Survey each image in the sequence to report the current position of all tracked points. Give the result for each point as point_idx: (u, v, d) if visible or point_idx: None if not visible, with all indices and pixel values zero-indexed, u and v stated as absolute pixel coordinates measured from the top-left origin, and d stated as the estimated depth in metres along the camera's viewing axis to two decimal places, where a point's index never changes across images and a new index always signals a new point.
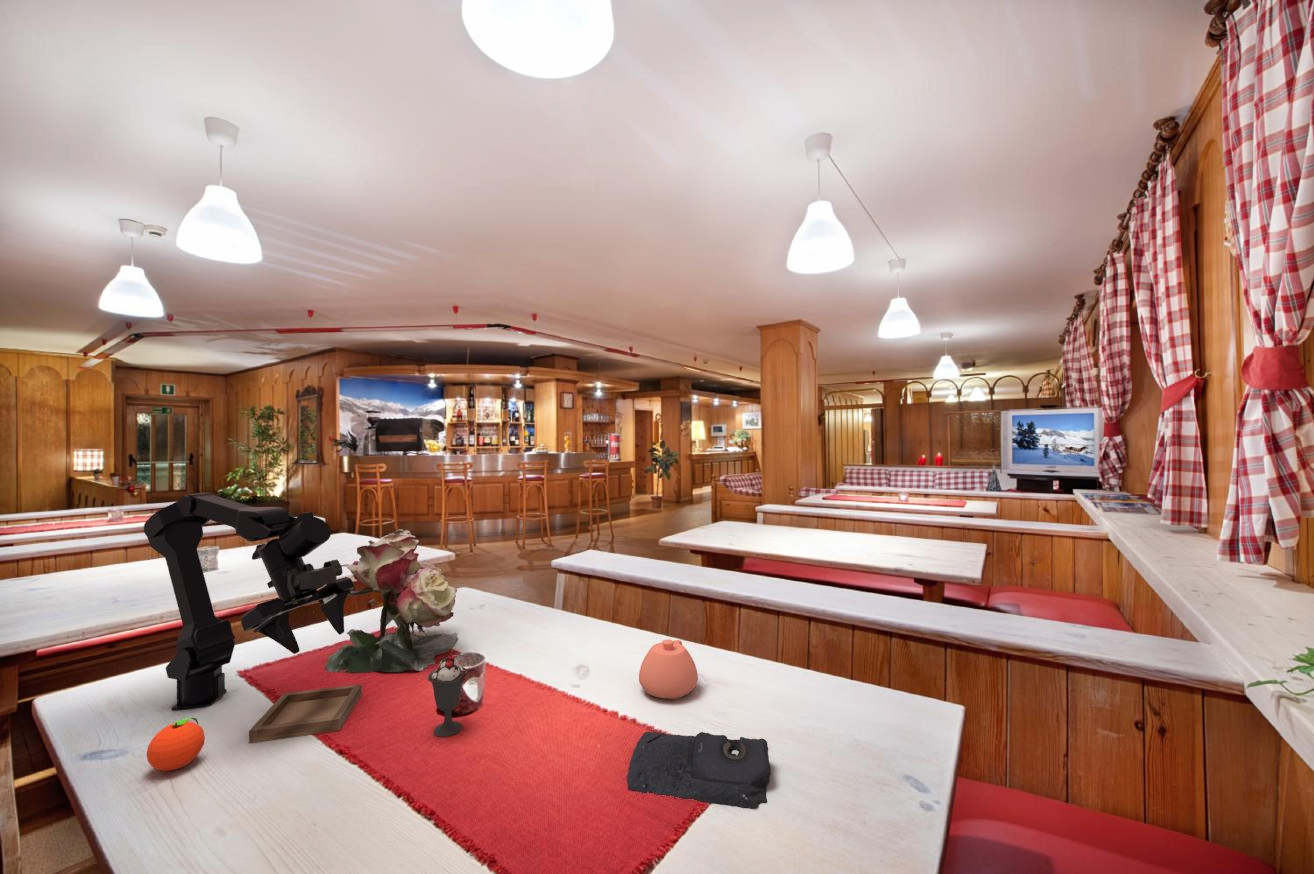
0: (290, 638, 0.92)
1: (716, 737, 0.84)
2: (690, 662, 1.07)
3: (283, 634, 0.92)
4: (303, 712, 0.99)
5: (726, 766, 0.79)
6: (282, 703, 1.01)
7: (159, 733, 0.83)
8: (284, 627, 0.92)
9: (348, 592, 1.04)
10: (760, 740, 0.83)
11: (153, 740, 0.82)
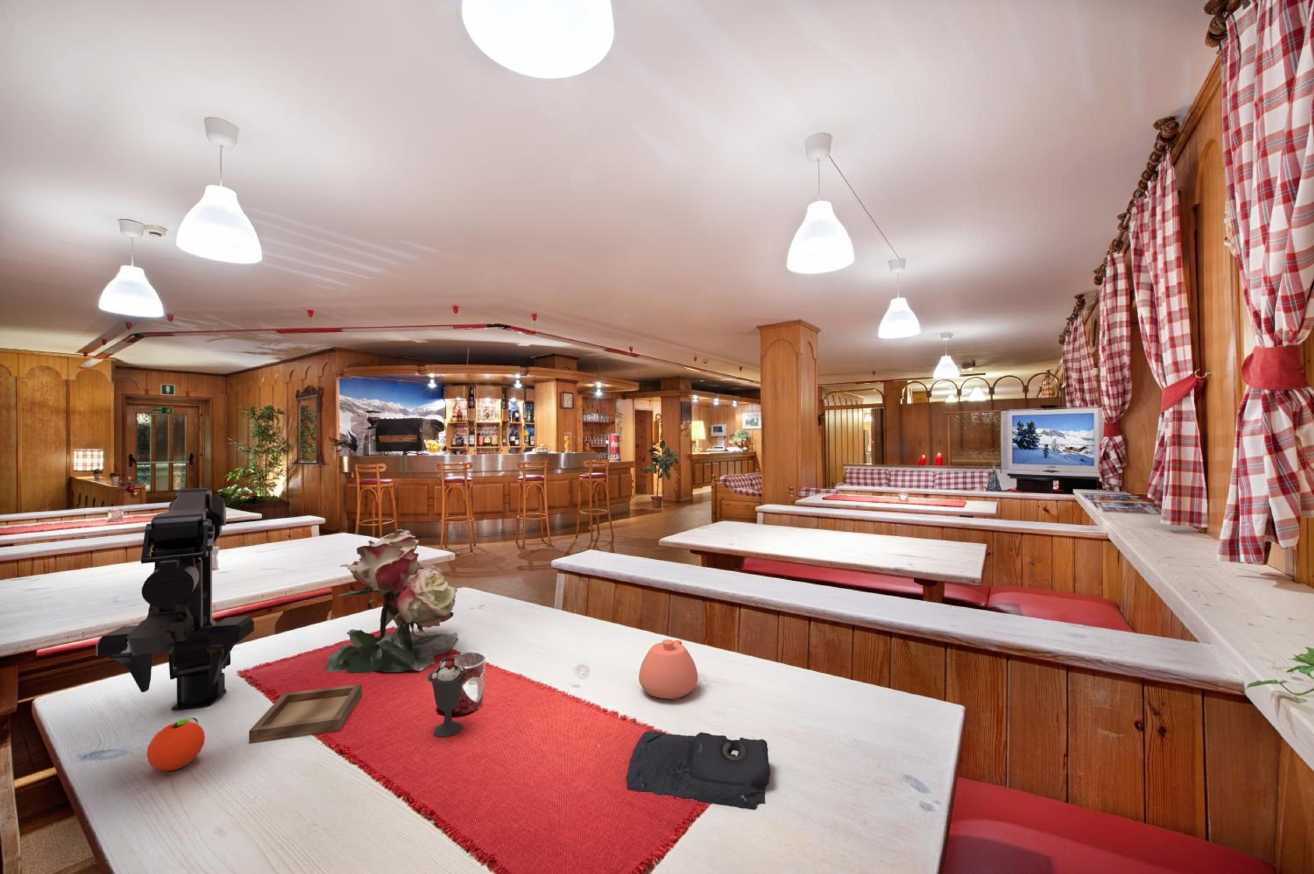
0: (134, 678, 0.82)
1: (716, 737, 0.84)
2: (690, 662, 1.07)
3: None
4: (303, 712, 0.99)
5: (726, 766, 0.79)
6: (282, 703, 1.01)
7: (159, 733, 0.83)
8: (129, 665, 0.82)
9: (222, 648, 0.84)
10: (760, 741, 0.83)
11: (153, 740, 0.82)
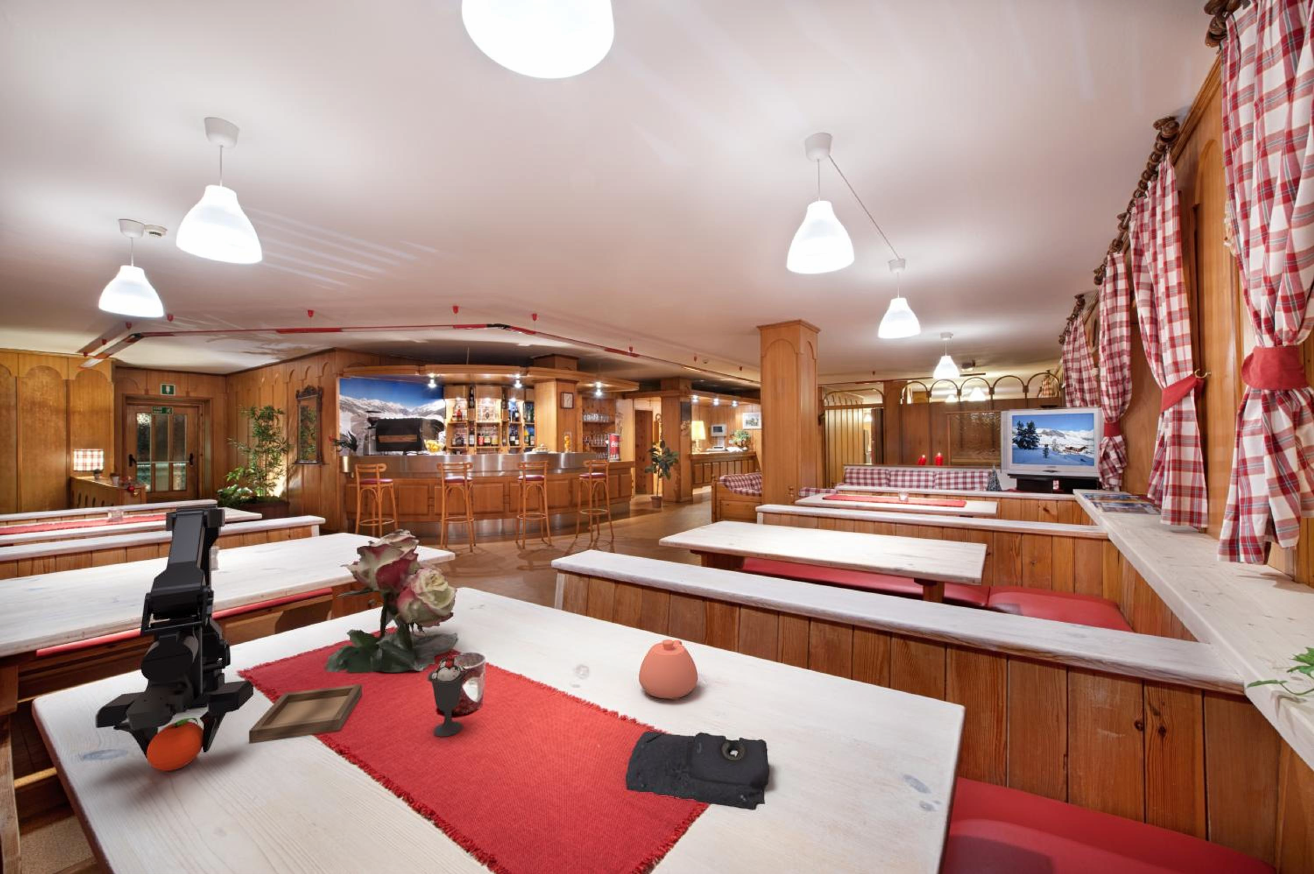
0: (141, 746, 0.83)
1: (715, 737, 0.84)
2: (690, 662, 1.07)
3: None
4: (303, 712, 0.99)
5: (725, 766, 0.79)
6: (282, 703, 1.01)
7: (159, 733, 0.83)
8: (135, 735, 0.82)
9: (214, 717, 0.84)
10: (759, 741, 0.83)
11: (153, 740, 0.82)
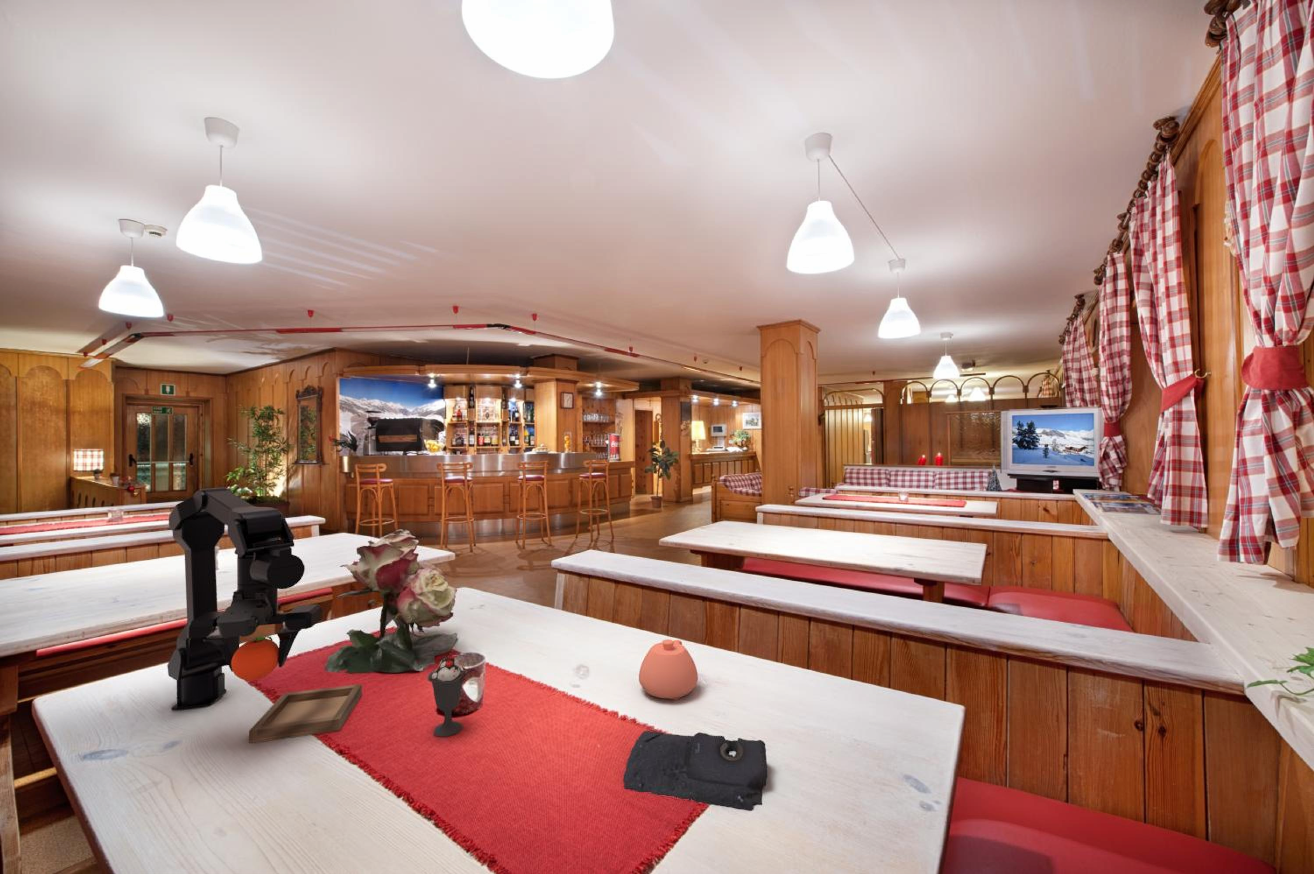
0: (226, 658, 0.91)
1: (714, 738, 0.84)
2: (690, 662, 1.07)
3: None
4: (303, 712, 0.99)
5: (723, 767, 0.79)
6: (282, 703, 1.01)
7: (241, 646, 0.91)
8: (221, 647, 0.90)
9: (290, 633, 0.92)
10: (758, 742, 0.83)
11: (237, 652, 0.90)
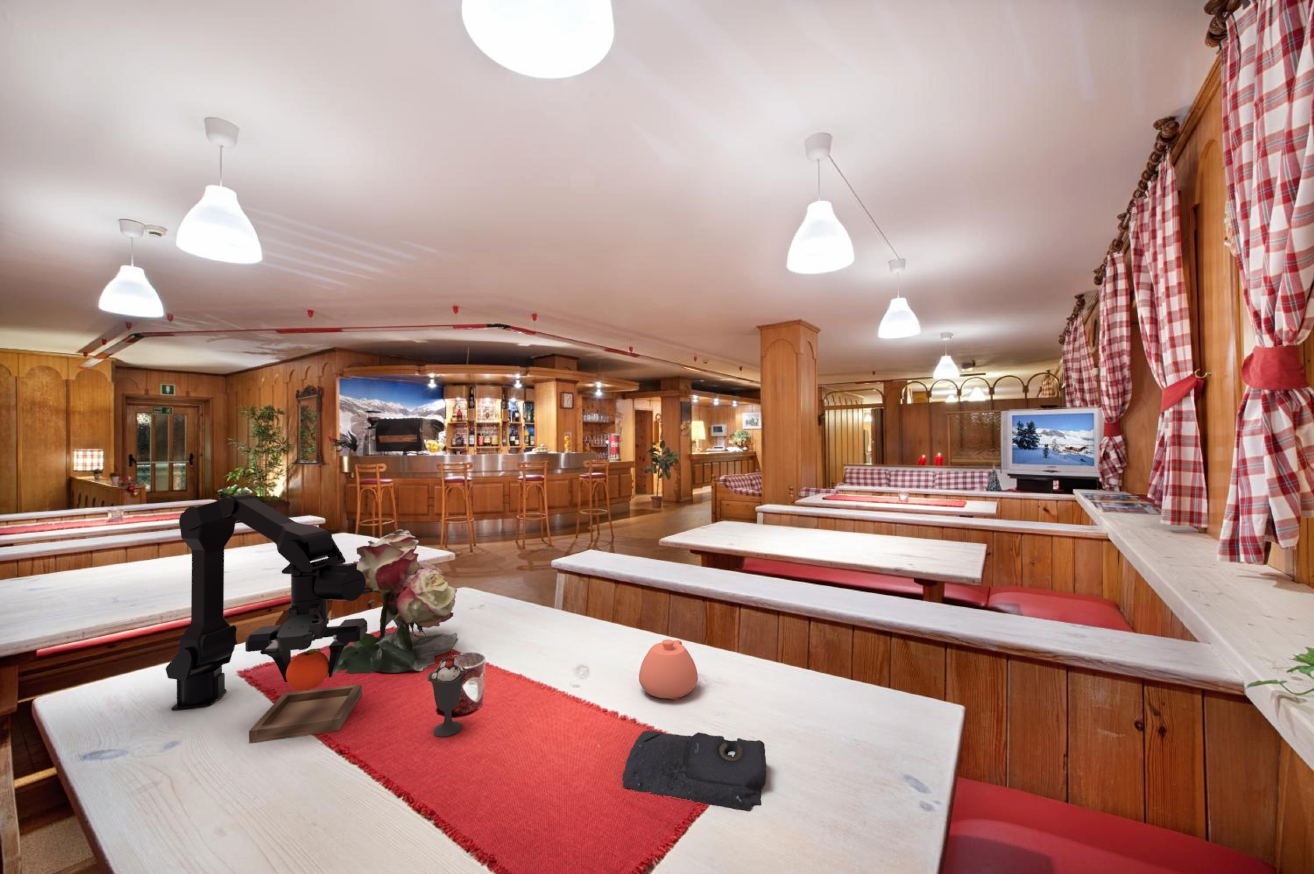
0: (280, 670, 0.97)
1: (713, 738, 0.84)
2: (690, 662, 1.07)
3: None
4: (303, 712, 0.99)
5: (722, 767, 0.79)
6: (282, 703, 1.01)
7: (295, 658, 0.97)
8: (276, 659, 0.97)
9: (341, 646, 0.98)
10: (757, 742, 0.83)
11: (291, 664, 0.97)
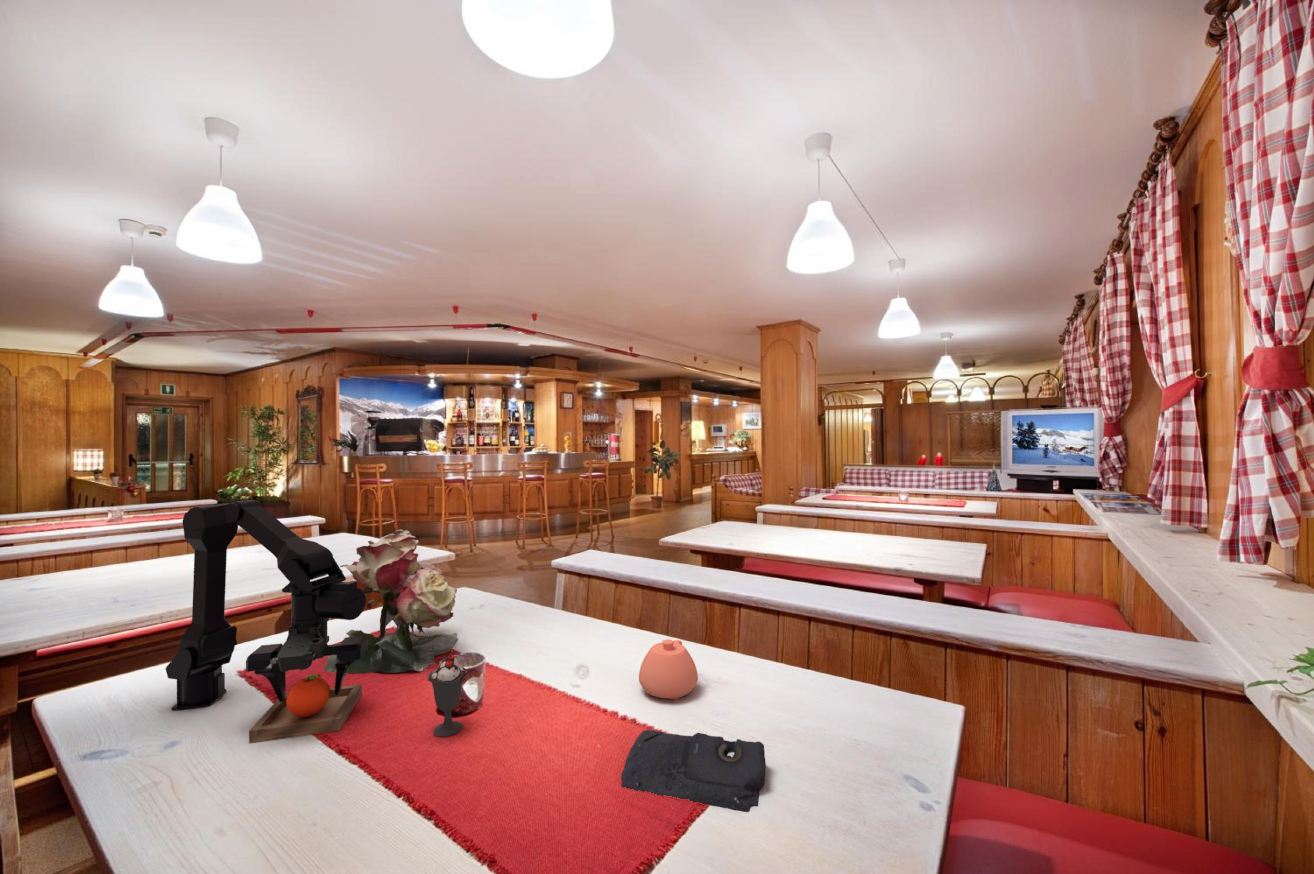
0: (274, 689, 0.97)
1: (712, 738, 0.84)
2: (690, 662, 1.07)
3: None
4: None
5: (720, 768, 0.79)
6: (282, 703, 1.01)
7: (296, 685, 0.97)
8: (270, 679, 0.96)
9: (347, 664, 0.98)
10: (757, 743, 0.82)
11: (291, 691, 0.97)
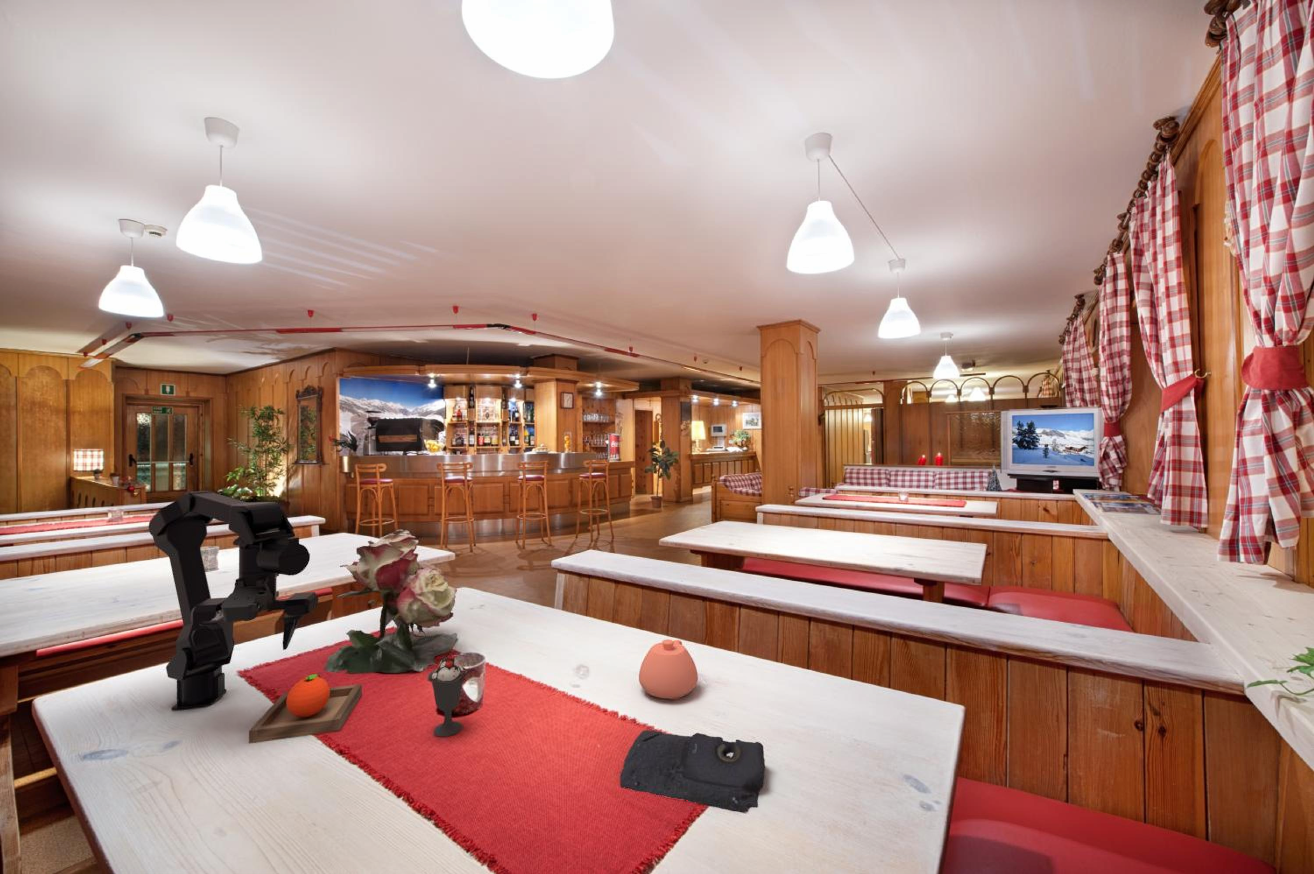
0: (221, 642, 0.97)
1: (711, 739, 0.84)
2: (690, 662, 1.07)
3: None
4: None
5: (719, 768, 0.79)
6: (282, 703, 1.01)
7: (296, 685, 0.97)
8: (216, 631, 0.96)
9: (294, 618, 0.98)
10: (756, 743, 0.82)
11: (291, 691, 0.97)
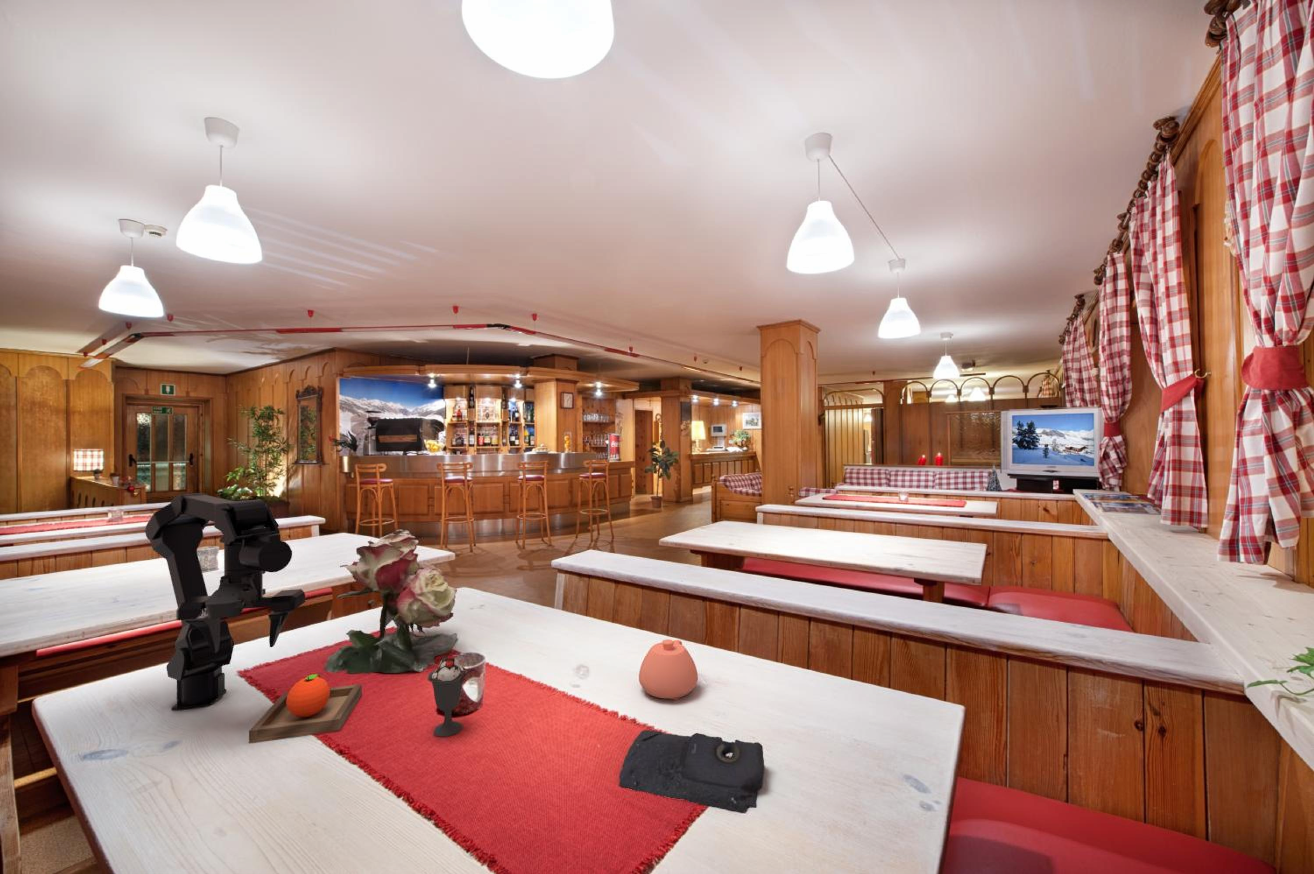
0: (207, 640, 0.97)
1: (711, 739, 0.84)
2: (690, 662, 1.07)
3: None
4: None
5: (718, 768, 0.79)
6: (282, 703, 1.01)
7: (296, 685, 0.97)
8: (203, 629, 0.96)
9: (280, 615, 0.98)
10: (755, 744, 0.82)
11: (291, 691, 0.97)
